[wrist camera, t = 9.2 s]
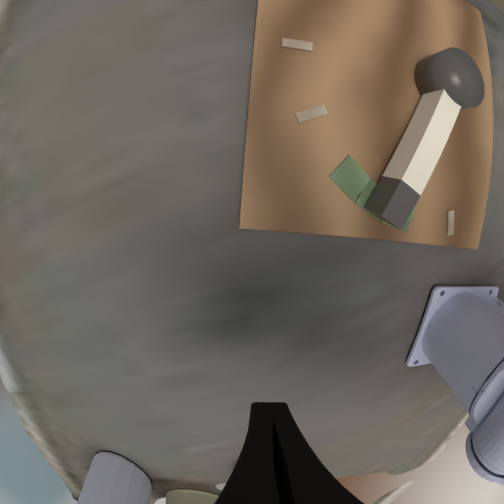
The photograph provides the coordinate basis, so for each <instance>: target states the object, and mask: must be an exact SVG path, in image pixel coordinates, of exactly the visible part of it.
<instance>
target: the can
mask: <svg viewBox="0 0 504 504" xmlns="http://www.w3.org/2000/svg"><path fill="white" fill-rule="evenodd" d="M218 497H219V495H216V494H214V493H210V492H206V491H201V490H194V489H174V490H170V491H168V492H167V493H166V504H214V503H215V502H216V500H217V498H218Z"/></svg>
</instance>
